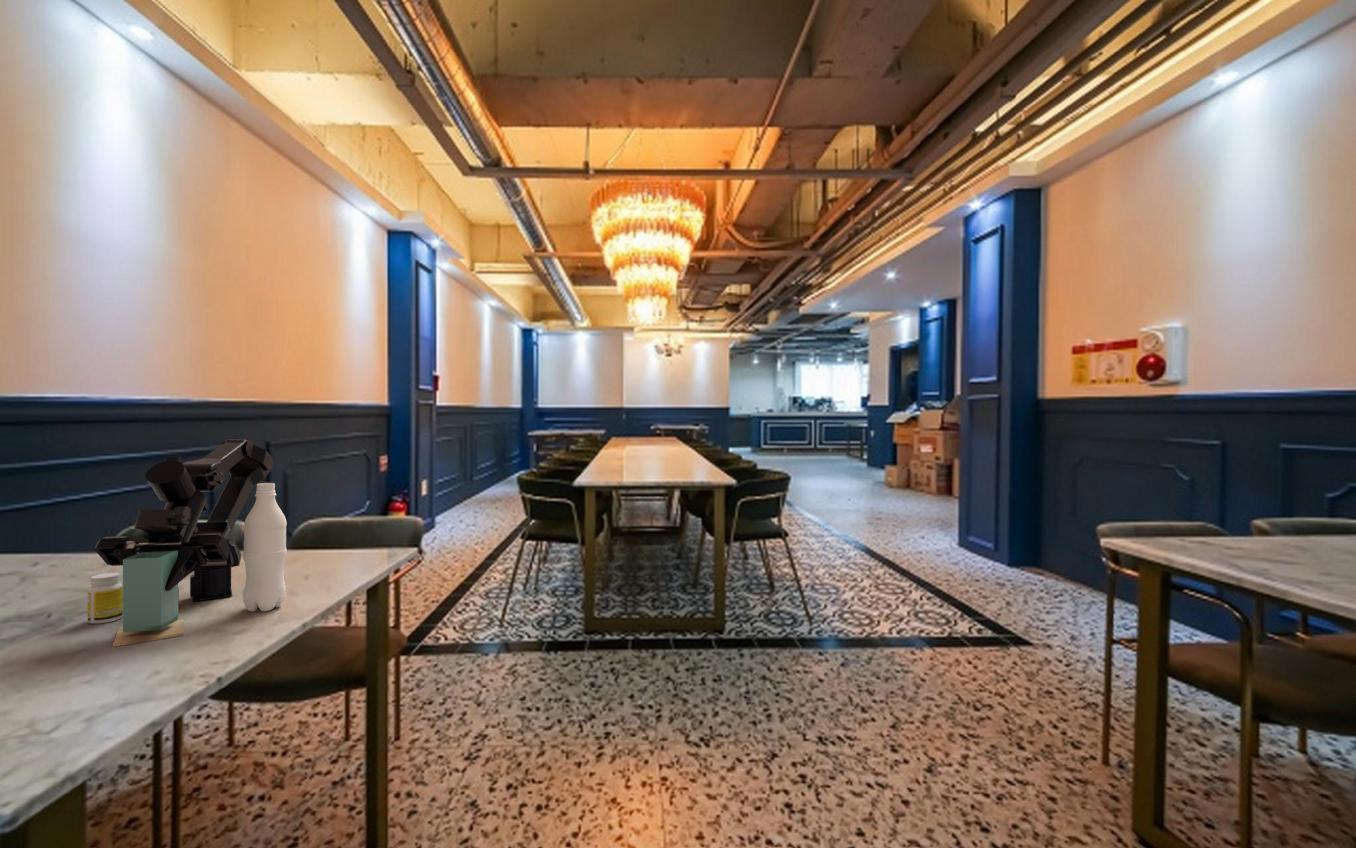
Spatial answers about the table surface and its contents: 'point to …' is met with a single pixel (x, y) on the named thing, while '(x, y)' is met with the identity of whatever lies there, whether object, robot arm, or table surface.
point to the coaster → (149, 634)
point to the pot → (149, 591)
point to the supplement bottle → (105, 598)
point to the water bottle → (264, 552)
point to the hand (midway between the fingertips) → (146, 591)
